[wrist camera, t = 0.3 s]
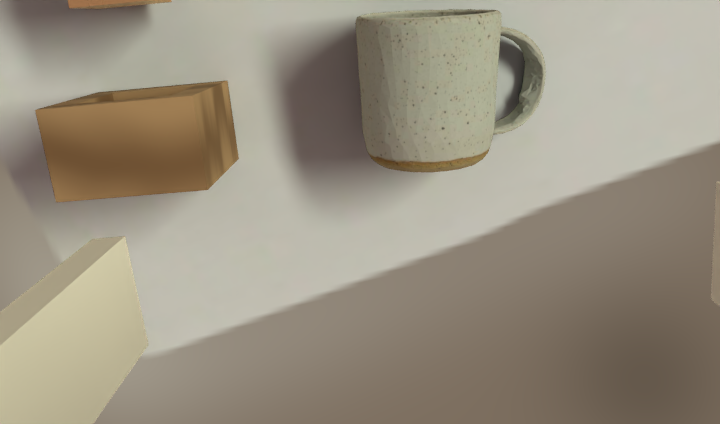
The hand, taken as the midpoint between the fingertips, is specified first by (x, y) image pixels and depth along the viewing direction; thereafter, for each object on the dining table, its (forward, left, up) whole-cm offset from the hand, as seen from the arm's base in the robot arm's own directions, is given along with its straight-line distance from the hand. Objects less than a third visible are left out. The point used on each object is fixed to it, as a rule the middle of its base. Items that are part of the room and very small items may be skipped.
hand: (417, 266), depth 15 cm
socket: (0, -14, -27) cm, 30 cm away
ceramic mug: (-2, +3, -27) cm, 27 cm away
